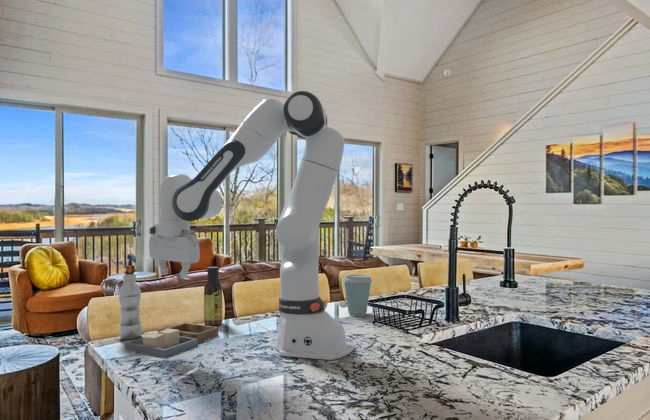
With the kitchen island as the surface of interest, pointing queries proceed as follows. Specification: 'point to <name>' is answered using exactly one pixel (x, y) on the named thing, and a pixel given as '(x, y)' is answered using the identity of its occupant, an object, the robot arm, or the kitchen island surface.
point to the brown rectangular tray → (196, 331)
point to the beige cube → (154, 340)
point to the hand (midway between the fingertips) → (173, 276)
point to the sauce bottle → (212, 298)
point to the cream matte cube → (170, 337)
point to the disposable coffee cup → (357, 293)
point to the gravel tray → (167, 351)
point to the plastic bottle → (130, 308)
